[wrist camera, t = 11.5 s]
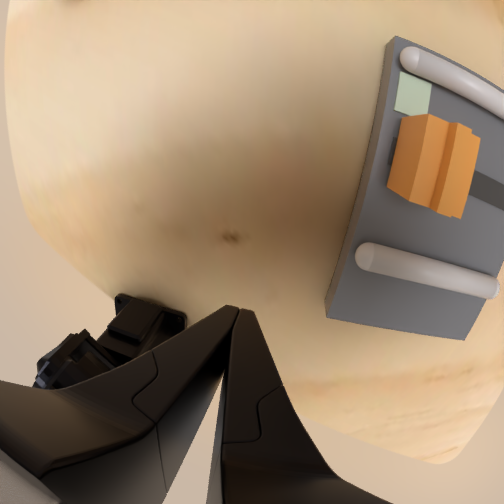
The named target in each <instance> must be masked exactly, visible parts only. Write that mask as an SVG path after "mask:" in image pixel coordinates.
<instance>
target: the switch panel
mask: <svg viewBox="0 0 504 504" xmlns="http://www.w3.org/2000/svg"><path fill="white" fill-rule="evenodd" d="M422 114H431V115H433V116H436V117H438V118H440V119H442V120H445V121H447V122H449V123H456V122H458V123H460V124H462V125H464V126H466V127H468V128H470V129H472V134H474V135H475V136H477V137H479V138H481V139H480V145H479V150H478V155H477V160H476V164H475V169H474V173H473V177H472V181H471V185H470V189H469V193H468V196H467V200H466V203H465V207H464V210H463V213H462V217H461V219H459V218H456V217H454V216H451V217H448V216H445V215H442V214H439V213H437V212H435V211H433V210H432V209H430V208H428V207H425V206H422V205H419V204H416V203H413V202H410V201H408V200H406V199H405V198H403V197H402V196H400V195H399V194H397V193H395V192H394V191H392V190H391V189H389V188H387V187H386V186H387V182H388V179H389V175H390V171H391V166H392V162H393V158H394V154H395V149H396V145H397V140H398V135H399V130H400V125H401V120H402V117H408V116H415V115H422ZM503 261H504V90H502V89H501V88H499V87H498V86H496V85H495V84H493V83H492V82H490V81H488V80H487V79H485V78H483V77H482V76H480V75H478V74H477V73H475V72H473V71H471V70H470V69H468V68H466V67H464V66H462V65H461V64H459V63H457V62H455V61H453V60H451V59H449V58H447V57H445V56H443V55H441V54H438V53H436V52H434V51H432V50H430V49H428V48H425V47H423V46H421V45H418V44H416V43H413V42H411V41H408V40H406V39H403V38H401V37H398V36H394V37H393V38H392V39H391V40H390V41H389V42H388V43H387V44H386V50H385V58H384V65H383V72H382V78H381V84H380V90H379V96H378V102H377V107H376V113H375V118H374V123H373V128H372V133H371V138H370V142H369V147H368V151H367V156H366V160H365V165H364V169H363V173H362V177H361V181H360V185H359V189H358V193H357V197H356V201H355V204H354V208H353V212H352V215H351V219H350V223H349V226H348V230H347V233H346V237H345V240H344V243H343V247H342V250H341V253H340V256H339V260H338V263H337V266H336V269H335V272H334V275H333V278H332V281H331V284H330V287H329V290H328V293H327V296H326V299H325V309H326V318H331V319H336V320H341V321H347V322H352V323H357V324H363V325H368V326H374V327H379V328H385V329H391V330H397V331H403V332H409V333H416V334H422V335H429V336H435V337H442V338H450V339H457V340H465V338H466V337H467V335H468V333H469V331H470V330H471V328H472V326H473V324H474V322H475V321H476V319H477V317H478V315H479V313H480V311H481V309H482V307H483V305H484V303H485V301H486V299H493V298H495V297H496V296H497V295H498V293H499V290H500V284H499V281H498V280H497V279H496V278H497V275H498V273H499V271H500V268H501V266H502V263H503Z"/></svg>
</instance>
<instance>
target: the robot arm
mask: <svg viewBox="0 0 504 504" xmlns="http://www.w3.org/2000/svg"><path fill="white" fill-rule="evenodd" d="M120 300H121V301H120ZM115 310H116V317H115V318H114V319H113V320H112V321H111V322H110V323H109V325H108V326H107V329H106V330H105V331H104V333H103V334H102V335H101V336H100V337H99V338H98V339H97V341H96V340H95V339H94V338H92V337H91V336H90V333H89V332H88V331H87V330H86V329H84V330H83V331H82V332H80V333H79V334H78V333H76V334H69V336H67V338H66V339H65V340H64V341H63V342H62V343H61V344H59V346H57V347H56V348H54V349H53V350H52V351H50V352H49V353H47V354H46V355H45V356H43V357H42V358H41V359H40V360H39V361H38V362H37V372H38V374H37V376H36V378H35V379H36V381H35V382H34V384H33V386H32V387H28V386H23V385H19V384H14V383H10V382H5V381H1V380H0V504H162V503H163V501H164V499H165V497H166V495H167V494H166V493H168V491H169V489H170V487H171V485H172V483H173V480H174V478H175V477H176V474H177V472H178V470H179V468H180V466H181V464H182V462H183V460H184V458H185V456H186V454H187V452H188V449H189V447H190V445H191V443H192V441H193V439H194V437H195V435H196V433H197V431H198V429H199V426H200V424H201V422H202V420H203V418H204V416H205V414H206V412H207V409H208V407H209V405H210V403H211V401H212V399H213V396H214V394H215V392H216V390H217V388H218V385H219V383H220V381H221V378H222V376H223V380H222V387H221V394H220V402H219V409H218V417H217V424H216V431H215V439H214V446H213V454H212V462H211V470H210V477H209V486H208V493H207V502H206V504H393V503H390V502H388V501H386V500H383V499H381V498H379V497H377V496H375V495H373V494H371V493H369V492H366V491H364V490H362V489H360V488H358V487H356V486H354V485H353V484H351V483H349V482H347V481H345V480H343V479H342V478H341V477H339V476H338V475H337V474H336V473H335V472H334V471H333V470H332V469H331V468H330V467H329V466H328V464H327V463H326V462H325V460H324V458H323V457H322V455H321V453H320V452H319V450H318V449H317V447H316V445H315V444H314V442H313V441H312V439H311V438H310V436H309V434H308V433H307V431H306V429H305V428H304V426H303V424H302V423H301V421H300V419H299V417H298V416H297V414H296V412H295V410H294V408H293V406H292V404H291V402H290V399H289V397H288V395H287V392H286V390H285V387H284V386H283V383H282V380H281V378H280V375H279V373H278V371H277V368H276V366H275V363H274V361H273V358H272V356H271V353H270V351H269V348H268V346H267V343H266V341H265V338H264V336H263V333H262V331H261V328H260V325H259V323H258V320H257V318H256V315H255V313H254V311H251V310H247V309H239V308H238V307H235V306H231V305H225V306H223V307H222V308H220V309H219V310H217V311H215V312H214V313H212V314H210V315H209V316H207V317H205V318H204V319H202V320H200V321H199V322H197V323H195V324H194V325H192V326H190V327H189V328H187V329H186V324H187V317H186V315H185V314H183V313H181V312H178V311H174V310H171V309H168V308H164V307H161V306H157V305H154V304H151V303H148V302H144V301H141V300H138V299H135V298H132V297H129V296H126V295H122V294H118V295H117V296H116V297H115ZM179 318H181V319H182V320H180V319H179ZM223 373H224V375H223Z"/></svg>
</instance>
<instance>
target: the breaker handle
mask: <svg viewBox="0 0 504 504" xmlns="http://www.w3.org/2000/svg"><path fill="white" fill-rule="evenodd" d="M480 139H481V138H479V137H477V136H475V135H474V134H472V129H470V128H468V127H466V126H464V125H462V124H460V123H458V122H456V123H449V122H447V121H445V120H442V119H440V118H438V117H436V116H433V115H431V114H422V115H415V116H408V117H402V120H401V125H400V130H399V135H398V140H397V145H396V149H395V154H394V158H393V162H392V166H391V171H390V175H389V179H388V182H387V186H386V187H387V188H389V189H391V190H392V191H394V192H395V193H397V194H399V195H400V196H402V197H403V198H405V199H406V200H408V201H410V202H413V203H416V204H419V205H422V206H425V207H428V208H430V209H432V210H433V211H435V212H437V213H439V214H442V215H445V216H448V217H451V216H454V217H456V218H459V219H461V217H462V213H463V210H464V207H465V203H466V200H467V196H468V193H469V189H470V185H471V181H472V177H473V173H474V169H475V164H476V160H477V155H478V150H479V145H480Z"/></svg>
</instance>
